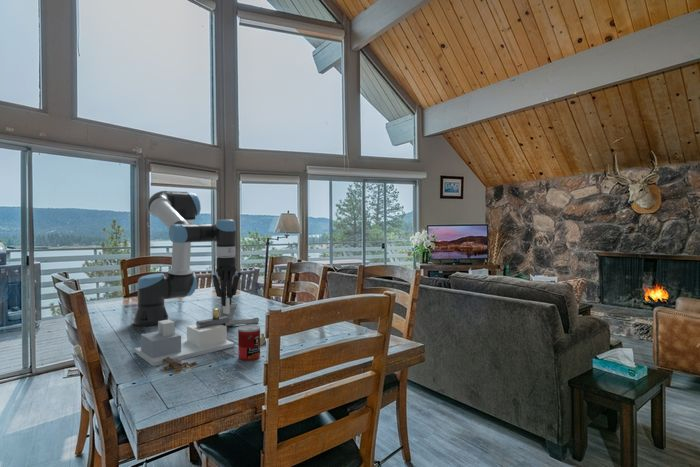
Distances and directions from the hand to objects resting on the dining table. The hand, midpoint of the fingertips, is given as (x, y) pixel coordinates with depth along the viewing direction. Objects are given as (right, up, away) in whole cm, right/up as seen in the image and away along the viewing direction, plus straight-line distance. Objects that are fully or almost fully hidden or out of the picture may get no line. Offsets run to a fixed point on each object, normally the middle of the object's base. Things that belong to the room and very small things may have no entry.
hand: (226, 313), depth 164 cm
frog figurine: (-7, -13, -31) cm, 34 cm away
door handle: (-4, -11, +29) cm, 31 cm away
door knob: (+17, -12, -2) cm, 21 cm away
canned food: (+15, -12, -20) cm, 28 cm away
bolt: (-4, -4, -4) cm, 7 cm away
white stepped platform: (-12, -12, -12) cm, 21 cm away
